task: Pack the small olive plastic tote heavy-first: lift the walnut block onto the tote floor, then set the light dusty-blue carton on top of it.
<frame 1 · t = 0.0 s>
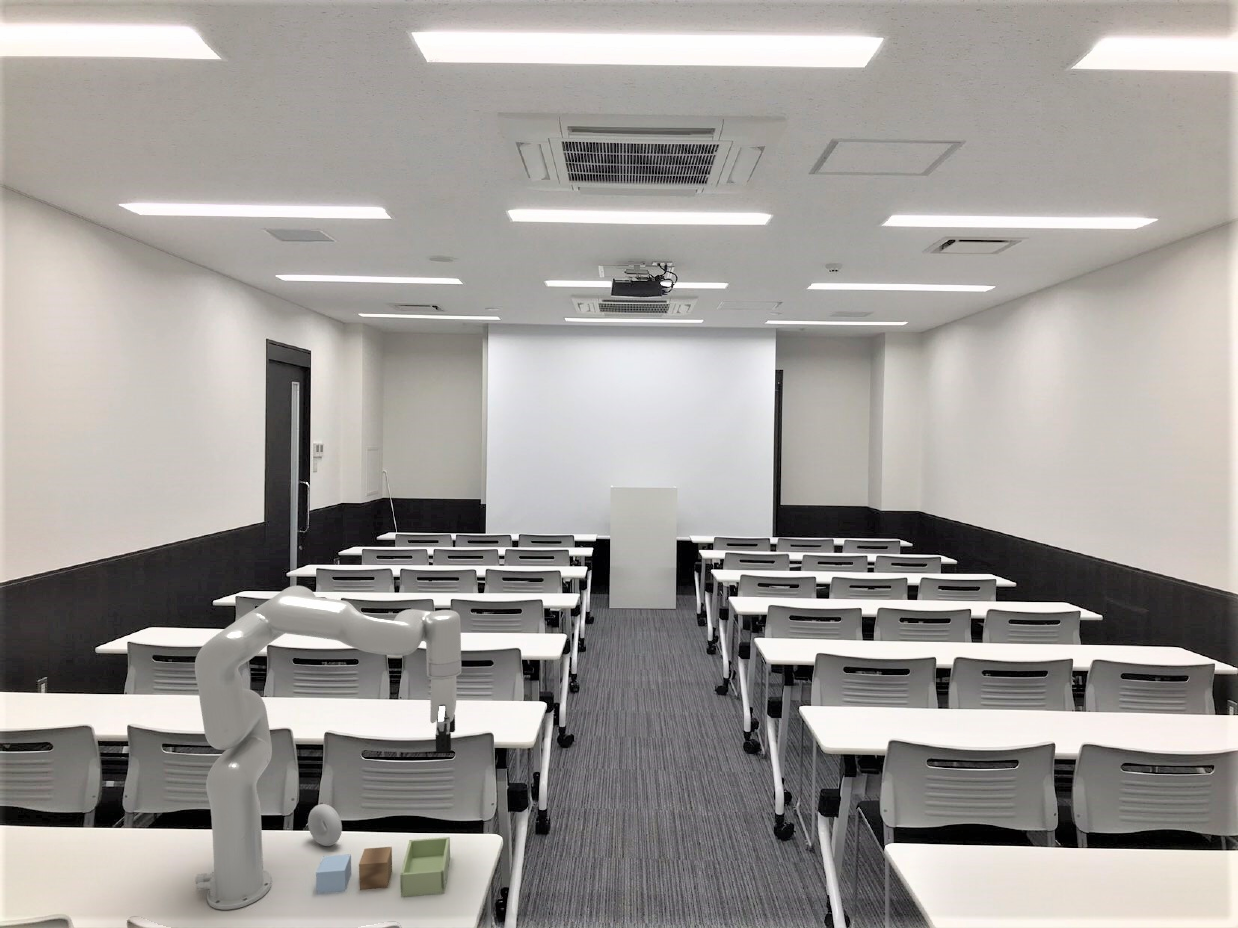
hand: (445, 741, 167), 31 cm above the table, tool pointing down, fingers open, 9 cm apart
donut: (325, 845, 181), on the table
blue carton: (334, 884, 166), on the table
tote: (426, 876, 169), on the table
walnut block: (376, 880, 167), on the table
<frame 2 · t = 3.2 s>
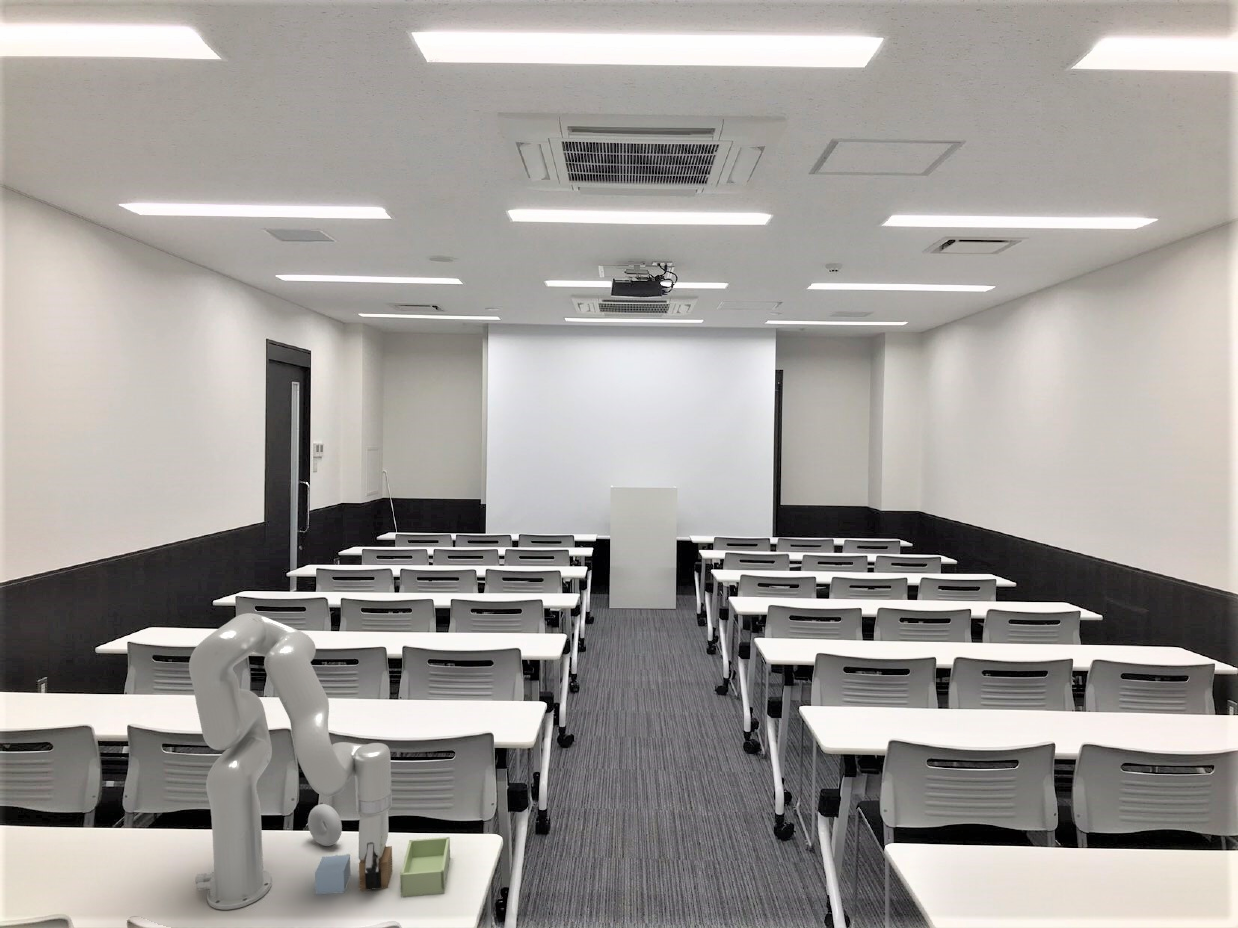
hand: (376, 877, 167), 1 cm above the table, tool pointing down, fingers closed on walnut block, 6 cm apart
walnut block: (376, 880, 167), on the table, touching gripper
everything else where it was.
when the fingers open (3 cm above the table, at t = 8.8 s): walnut block drops 1 cm, resting on tote.
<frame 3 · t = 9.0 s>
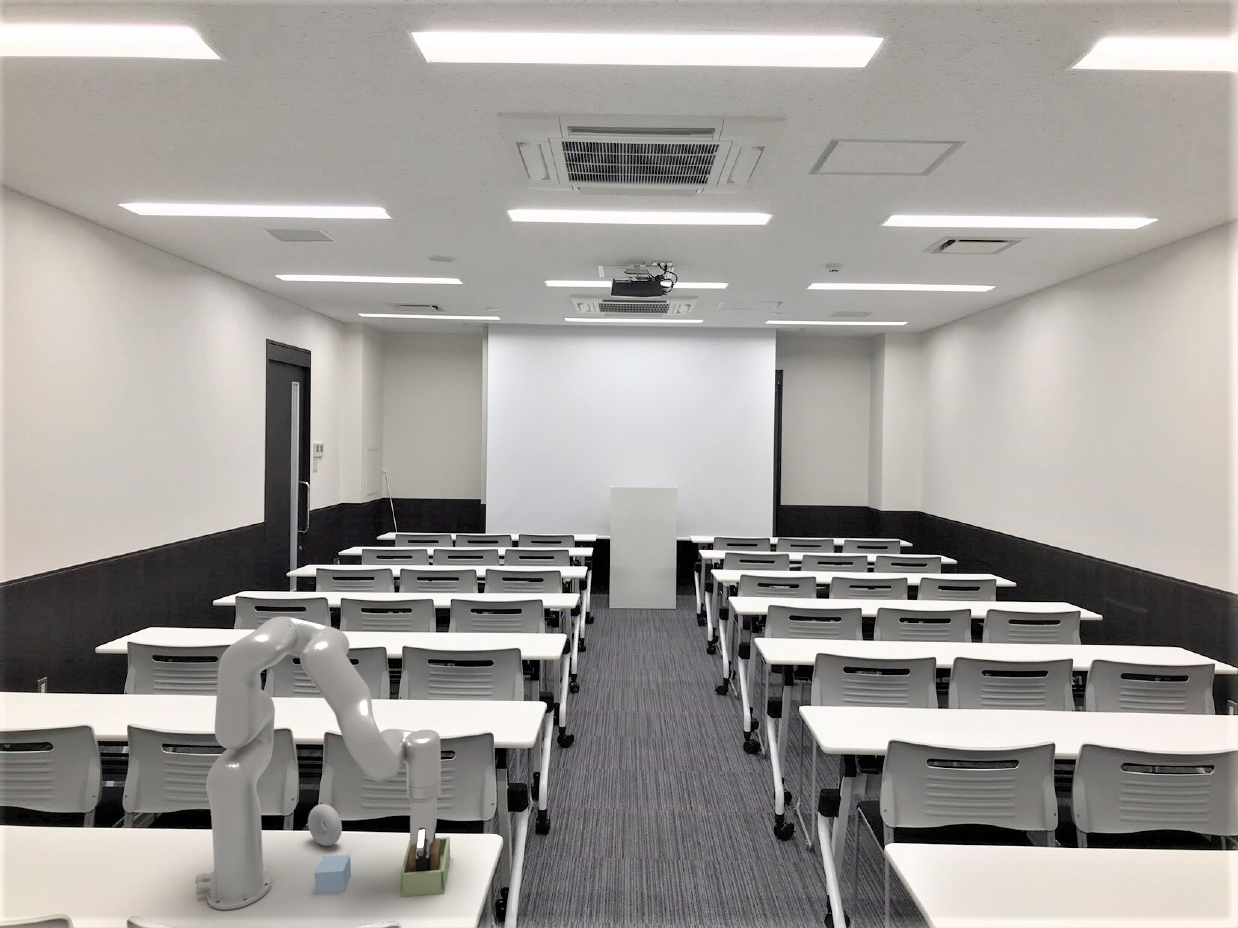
hand: (426, 861, 169), 4 cm above the table, tool pointing down, fingers open, 8 cm apart
walnut block: (425, 871, 169), point 1 cm above the table, touching tote
everything else where it was.
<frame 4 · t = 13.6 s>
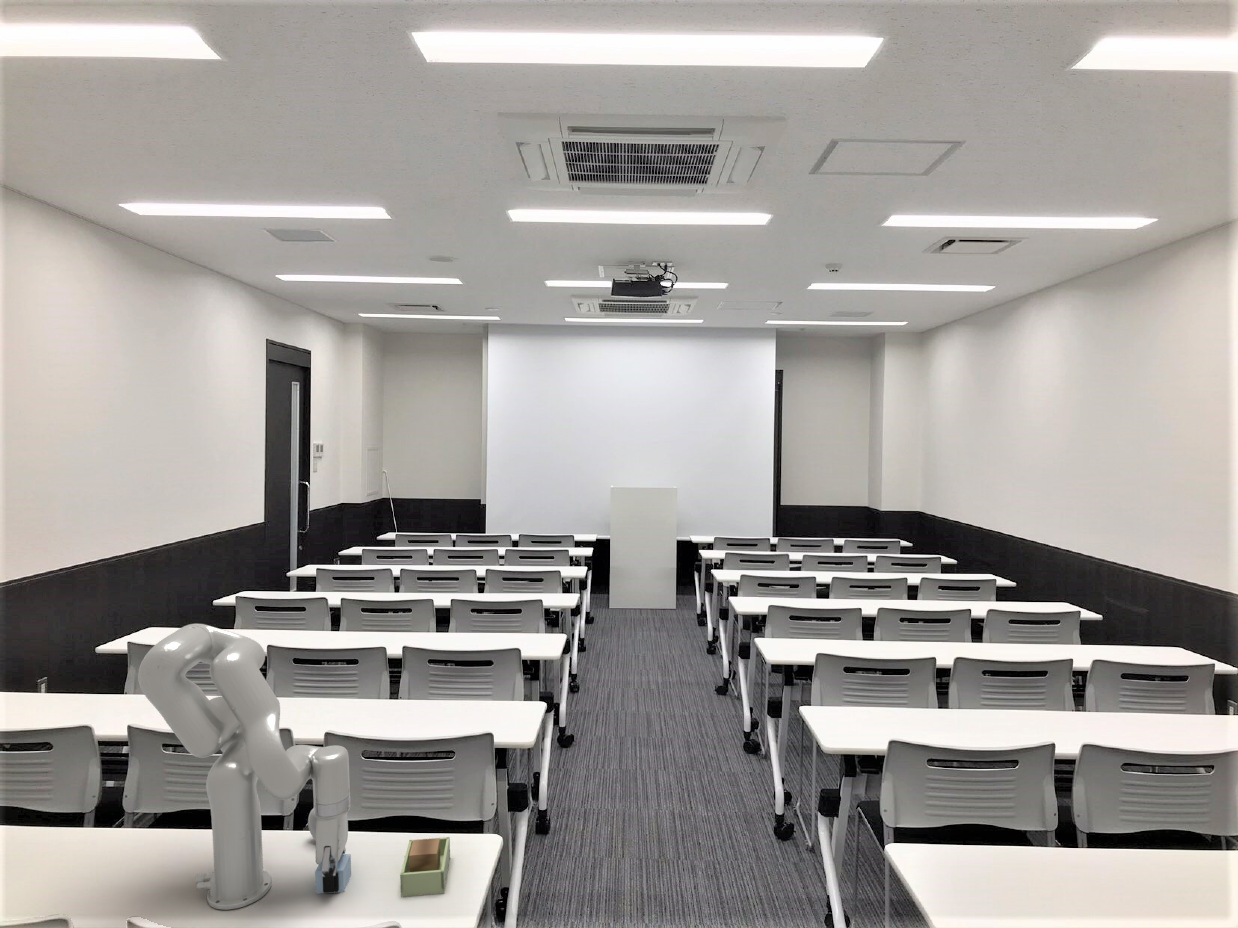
hand: (335, 880, 166), 1 cm above the table, tool pointing down, fingers closed on blue carton, 6 cm apart
blue carton: (333, 883, 166), on the table, touching gripper
everything else where it was.
when the fingers open (9 cm above the table, at t = 19.4 s): blue carton drops 1 cm, resting on walnut block.
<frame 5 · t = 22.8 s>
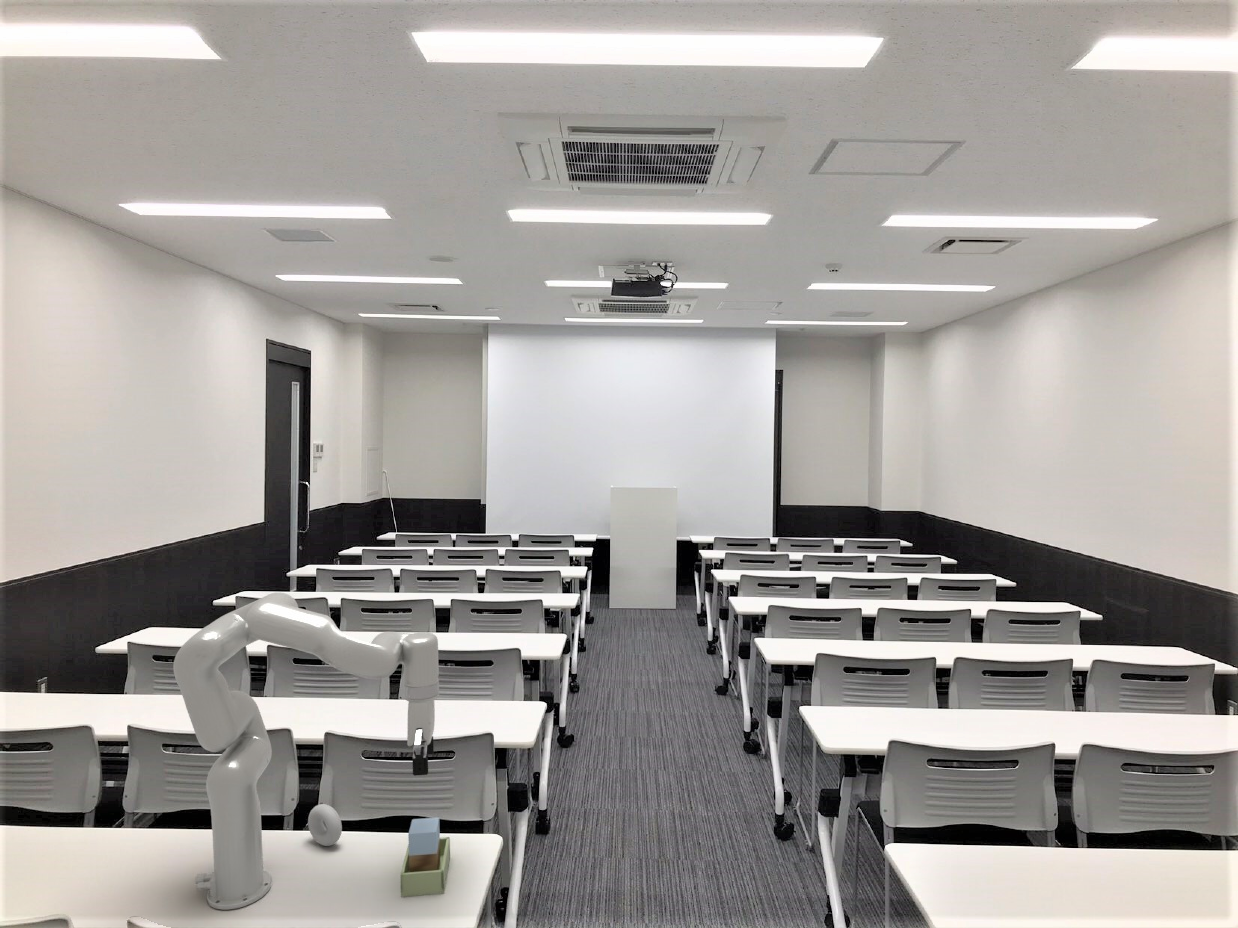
hand: (423, 763, 167), 26 cm above the table, tool pointing down, fingers open, 9 cm apart
blue carton: (424, 846, 168), point 7 cm above the table, touching walnut block
walnut block: (425, 871, 169), point 1 cm above the table, touching blue carton, tote
everything else where it was.
at the end: walnut block 0.2 cm off-centre on the tote, point 1.0 cm above the tote's base; blue carton 0.1 cm off-centre on the walnut block, point 6.0 cm above the walnut block's base; blue carton tilted 0° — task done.
